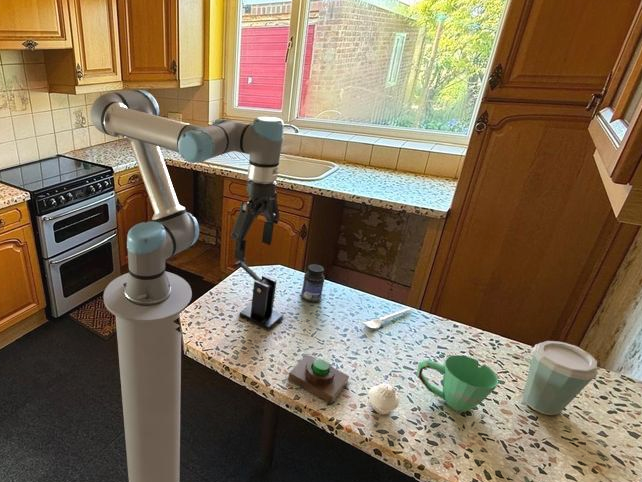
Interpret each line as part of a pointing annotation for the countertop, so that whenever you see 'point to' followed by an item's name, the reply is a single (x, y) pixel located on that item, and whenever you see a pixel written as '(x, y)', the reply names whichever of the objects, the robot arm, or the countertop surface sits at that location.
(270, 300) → the switch bracket
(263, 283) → the lever
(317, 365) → the button
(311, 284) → the pill bottle
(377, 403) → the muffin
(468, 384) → the mug
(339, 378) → the switch block
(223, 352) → the countertop surface
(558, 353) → the disposable coffee cup
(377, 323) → the white spoon
